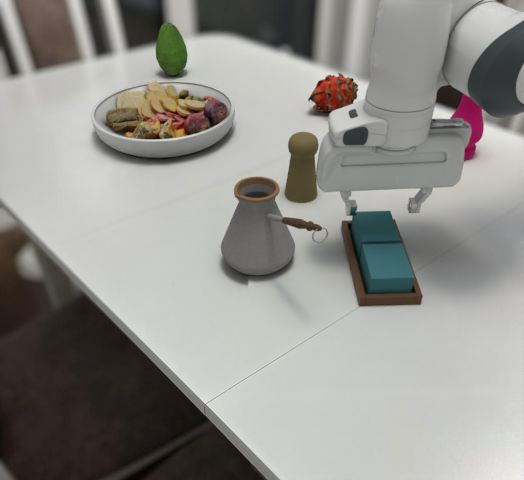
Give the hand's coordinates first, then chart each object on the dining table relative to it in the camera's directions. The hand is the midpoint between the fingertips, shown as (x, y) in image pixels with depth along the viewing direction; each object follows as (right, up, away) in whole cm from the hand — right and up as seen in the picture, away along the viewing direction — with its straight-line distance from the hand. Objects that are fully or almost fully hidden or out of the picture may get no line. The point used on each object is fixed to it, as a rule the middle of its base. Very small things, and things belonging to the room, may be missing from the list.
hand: (381, 212), depth 79 cm
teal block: (0, -11, -1) cm, 11 cm away
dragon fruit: (-2, +34, +42) cm, 54 cm away
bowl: (-39, +27, +36) cm, 59 cm away
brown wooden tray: (0, -8, +3) cm, 8 cm away
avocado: (-41, +51, +58) cm, 87 cm away
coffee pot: (-16, -10, +1) cm, 19 cm away
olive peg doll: (-11, +8, +18) cm, 22 cm away
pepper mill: (+22, +19, +28) cm, 40 cm away
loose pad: (0, -4, +5) cm, 6 cm away
